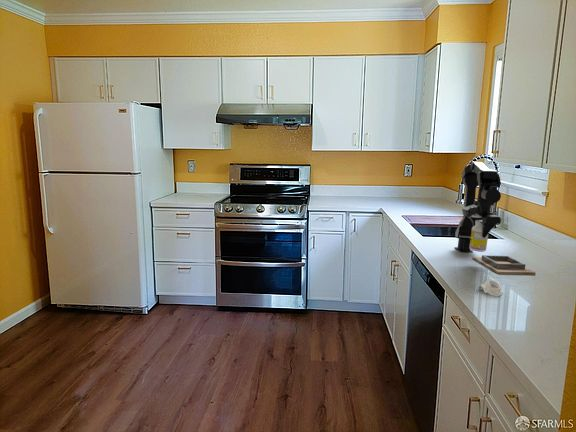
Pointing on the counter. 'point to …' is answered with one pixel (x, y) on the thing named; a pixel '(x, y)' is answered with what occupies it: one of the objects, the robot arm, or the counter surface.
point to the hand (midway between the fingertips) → (479, 235)
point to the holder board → (503, 265)
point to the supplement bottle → (478, 238)
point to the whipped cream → (491, 288)
